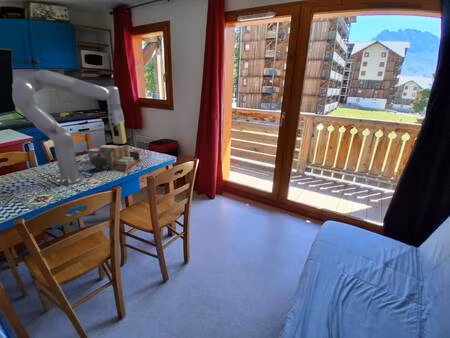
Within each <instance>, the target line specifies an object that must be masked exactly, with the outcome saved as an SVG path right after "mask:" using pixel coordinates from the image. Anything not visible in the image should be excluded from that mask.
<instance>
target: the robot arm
mask: <svg viewBox="0 0 450 338" xmlns="http://www.w3.org/2000/svg"><path fill="white" fill-rule="evenodd" d="M11 88H12V91H11V92H12V94H11V97H12V102H13V104H14V106H15V107H16V108H17V110H19V112H20V113H22V114H23V115H24V117H26V118H27V119H28V120H29V121H31V123H33V125H34V126H35V127H36V128H37V129H38V130H39V131H41V133H42V134H44V135H45V136H46V137H47V138H49V139H50V140H51V141H52V143H53V146H54V147H53V148H54V153H55V158H56V160H57V165H58V169H59V173H60V175H59V178H58V179H56V180H55V181H54V183H56V184H61V185H72V184H73V185H74V184H77V183H80V182H82V181H83V179H84V176H83V175H80V170H79V166H78V161H77V156H76V152H75V146H74V145H75V143H74V137H73V135H72V134H71V133H70V131H69V130H67V129H65V128H64V127H63V126H62V125H61V124H60V123H59V122H57V121H56V119H55V118H54V117H53V116H52V115H51V114H49V113H48V112H47V111H46V110H45V109H44V108H42V107H41V105H40V104H39V103H38V102H37V101H36V100H35V93H36V92H39V91H41V90H43V89H46V88H48V89H49V88H50V89H53V90H57V91H62V92H65V93H69V94H73V95H78V96H83V97H89V98H93V99H96V100H99V101H106V102H107V103H106V104H107V109H108V111H107V112H108V120H109V121H108V122H109V128H110V129H111V128H112V129H113V131H114V136H119V132H118V129H117V126H118V125H119V122H122V121H124V124H125V116H124V113H123V109H122V107H121V100H120V99H121V97H120V92H119V88H118V87H117V86H114V85H112V86H102V85H101V86H100V85H98V84H94V83H92V82H87V81H84V80H81V79H78V78H75V77H72V76H68V75H65V74H62V73H57V72H54V71H52V70H51V71H50V70H48V69H39V70H36V71H35V72H32V73H29V74H28V75H25V76H22V77H20V78H18V79H16V80H14V81H13V83H12V84H11ZM114 126H116V128H115V127H114Z"/></svg>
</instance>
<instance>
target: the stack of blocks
mask: <svg viewBox="0 0 450 338" xmlns="http://www.w3.org/2000/svg"><path fill="white" fill-rule="evenodd" d="M120 148H121V147H120V145H115V144H114V145H113V144H108V145H106V144H102V145H101V146H99V147H98V148H90V149H88V150H87V154H88V159H89V161H90V157H91V156H92V155H93V154H94V153H101V154H102V155H104V156H105V158H106V159H107V163H106V164H111V163H110V156H109V153H111V152H113V151H115V150H117V149H120ZM93 152H94V153H93Z"/></svg>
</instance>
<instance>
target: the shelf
mask: <svg viewBox="0 0 450 338" xmlns="http://www.w3.org/2000/svg"><path fill="white" fill-rule="evenodd" d="M109 156H110V163H109V164H110V168H111V170H112V171H113V170H114V171H123V172H124V171H128V170H130V169H131V168H133V167H134V166H135V165H137V164H139V163H140V162H142V161H143V159H142V158H140V151H129V145H128V144H126V145H124V146H122V147H120V149H117V150H115V151H113V152H111V153H109Z"/></svg>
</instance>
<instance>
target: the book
mask: <svg viewBox="0 0 450 338" xmlns="http://www.w3.org/2000/svg"><path fill="white" fill-rule="evenodd" d="M124 121H125V120H124ZM124 121H122V122H119V125H118V126H117V129H118V132H119V136H114V131H113V129H112V128H111V127H110V129H111V136H112V142H113V144H122V145H123V144H125V143H127V135H126V129H125V123H124ZM114 127H115V128H116V126H114Z"/></svg>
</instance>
